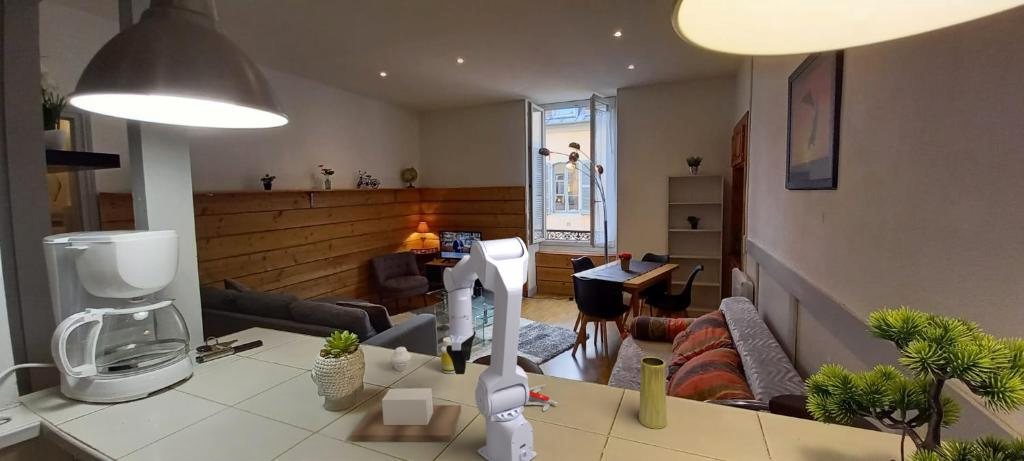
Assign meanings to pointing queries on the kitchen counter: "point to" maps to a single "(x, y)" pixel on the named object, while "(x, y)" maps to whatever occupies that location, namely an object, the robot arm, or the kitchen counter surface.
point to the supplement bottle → (446, 357)
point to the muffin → (401, 359)
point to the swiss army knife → (539, 398)
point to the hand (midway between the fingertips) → (463, 366)
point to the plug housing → (407, 406)
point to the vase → (652, 393)
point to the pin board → (408, 427)
